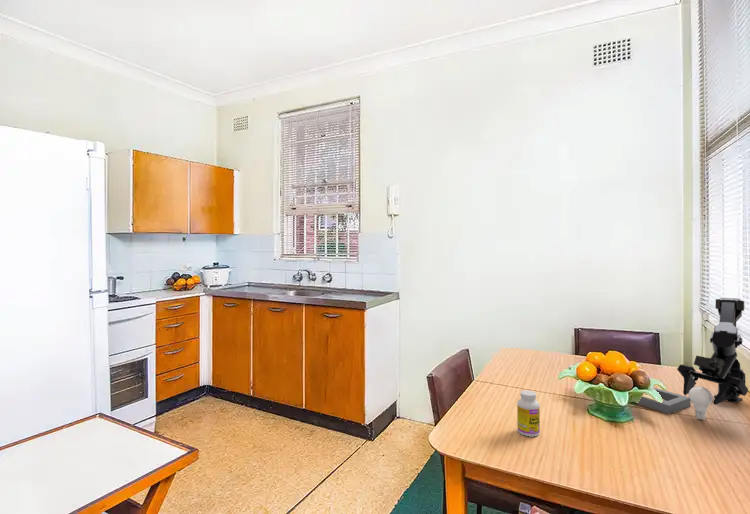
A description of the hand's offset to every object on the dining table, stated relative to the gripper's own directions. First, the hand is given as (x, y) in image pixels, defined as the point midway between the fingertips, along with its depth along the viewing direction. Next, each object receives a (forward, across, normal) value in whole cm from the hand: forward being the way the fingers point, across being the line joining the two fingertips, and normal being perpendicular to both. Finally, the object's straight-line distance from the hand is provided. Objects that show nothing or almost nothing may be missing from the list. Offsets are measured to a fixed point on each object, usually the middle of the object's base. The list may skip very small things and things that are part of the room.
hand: (698, 399), depth 137 cm
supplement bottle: (+46, -14, -35) cm, 60 cm away
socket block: (+3, -14, +7) cm, 16 cm away
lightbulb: (+4, 0, +6) cm, 7 cm away
